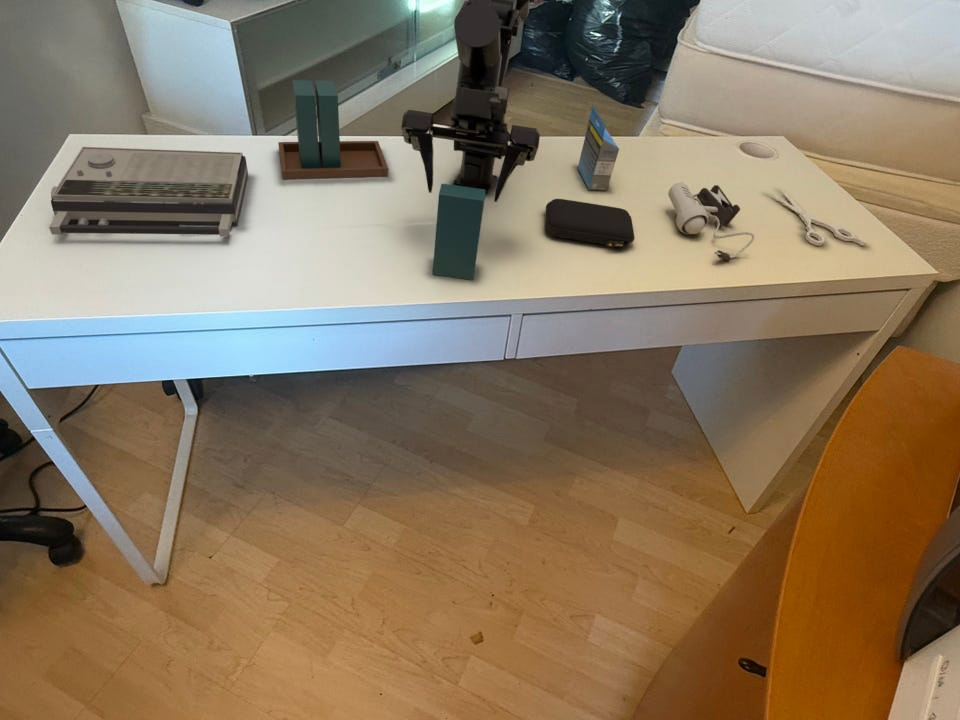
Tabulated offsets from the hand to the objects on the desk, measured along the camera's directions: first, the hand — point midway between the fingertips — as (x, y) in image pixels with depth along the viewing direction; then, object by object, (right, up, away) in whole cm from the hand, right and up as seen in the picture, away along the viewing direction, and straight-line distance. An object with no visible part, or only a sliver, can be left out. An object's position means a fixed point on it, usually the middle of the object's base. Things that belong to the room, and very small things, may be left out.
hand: (462, 196), depth 85 cm
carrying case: (+20, -1, +18) cm, 27 cm away
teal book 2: (-24, +12, +23) cm, 35 cm away
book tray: (-24, +11, +23) cm, 35 cm away
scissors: (+63, +4, +30) cm, 70 cm away
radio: (-47, 0, +8) cm, 47 cm away
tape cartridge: (+24, +11, +31) cm, 41 cm away
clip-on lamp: (+42, -1, +22) cm, 47 cm away
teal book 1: (-27, +11, +22) cm, 37 cm away
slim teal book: (-1, -10, +5) cm, 11 cm away
